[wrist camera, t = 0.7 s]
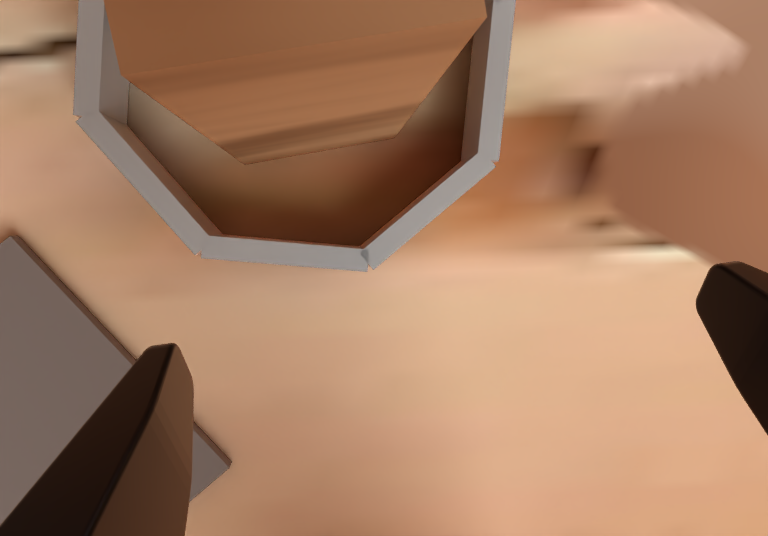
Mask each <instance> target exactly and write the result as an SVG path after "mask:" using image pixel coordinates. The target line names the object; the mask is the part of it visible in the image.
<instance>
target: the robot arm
mask: <svg viewBox="0 0 768 536" xmlns="http://www.w3.org/2000/svg"><path fill="white" fill-rule="evenodd" d="M696 309H697V312H698V314H699V316H700V318H701V320H702V322H703V324H704V326H705V328H706V330H707V332H708V334H709V336H710V337H711V339H712V341H713V343H714V345H715V347H716V349H717V351H718V353H719V355H720V357H721V359H722V361H723V363H724V365H725V366H726V368H727V370H728V372H729V374H730V376H731V378H732V380H733V381H734V383H735V385H736V387H737V389H738V390H739V392H740V393H741V395H742V397H743V398H744V400H745V401H746V403H747V404H748V406H749V408H750V409H751V411H752V412H753V414H754V415H755V417H756V418H757V420H758V421H759V423H760V424H761V426H762V427H763V429H764V430H765V432H766V433H767V435H768V273H766V272H764V271H761V270H759V269H757V268H754V267H752V266H750V265H747V264H745V263H742V262H738V261H737V262H736V261H734V262H727V263H720V264H716V265H714V266H712V267H711V268H710V270H709V271H708V274H707V276H706V278H705V280H704V283H703V285H702V287H701V289H700V291H699V294H698V296H697V298H696ZM193 398H194V388H193V380H192V376H191V374H190V371H189V369H188V367H187V364H186V362H185V360H184V357H183V355H182V353H181V350H180V348H179V347H178V346H177V345H176V344H175V343H168V344H161V345H154V346H150V347H149V348H147V349H146V350H145V351H144V352H143V353H142V355H141V356H140V357H139V358H138V359H137V361H136V362H135V363H134V364H133V365H132V367H131V368H130V369H129V370H128V371H127V373H126V374H125V375H124V376H123V377H122V379H121V380H120V381H119V382H118V383H117V385H116V386H115V387H114V388H113V389H112V391H111V392H110V393H109V394H108V396H107V397H106V398H105V399H104V400H103V402H102V403H101V404H100V405H99V406H98V408H97V409H96V410H95V411H94V412H93V414H92V415H91V416H90V417H89V418H88V420H87V421H86V422H85V423H84V424H83V426H82V427H81V428H80V429H79V430H78V432H77V433H76V434H75V435H74V436H73V438H72V439H71V440H70V441H69V443H68V444H67V445H66V446H65V447H64V449H63V450H62V451H61V452H60V453H59V455H58V456H57V457H56V458H55V459H54V461H53V462H52V463H51V464H50V465H49V467H48V468H47V469H46V470H45V471H44V473H43V474H42V475H41V476H40V477H39V479H38V480H37V481H36V482H35V483H34V485H33V486H32V487H31V488H30V490H29V491H28V492H27V493H26V494H25V496H24V497H23V498H22V499H21V500H20V502H19V503H18V504H17V505H16V506H15V508H14V509H13V510H12V511H11V512H10V514H9V515H8V516H7V517H6V518H5V520H4V521H3V522H2V523H1V524H0V536H185V528H186V521H187V514H188V507H189V499H190V491H191V482H192V456H193Z"/></svg>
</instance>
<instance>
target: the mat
mask: <svg viewBox="0 0 768 536" xmlns="http://www.w3.org/2000/svg"><path fill="white" fill-rule="evenodd" d="M135 362H136V360H135V359H134V358H133V357H132V356H131V355H130V354H129V353H128V352H127V351H126V350H125V349H124V348H123V347H122V345H121V344H120V343H119V342H118V341H117V340H116V339H115V338H114V337H113V336H112V335H111V334H110V333H109V332H108V331H107V330H106V329H105V327H104V326H103V325H102V324H101V323H100V322H99V321H98V320H97V319H96V318H95V317H94V316H93V315H92V314H91V313H90V312H89V311H88V309H87V308H86V307H85V306H84V305H83V304H82V303H81V302H80V301H79V300H78V299H77V298H76V297H75V296H74V295H73V294H72V293H71V291H70V290H69V289H68V288H67V287H66V286H65V285H64V284H63V283H62V282H61V281H60V280H59V279H58V278H57V277H56V276H55V275H54V273H53V272H52V271H51V270H50V269H49V268H48V267H47V266H46V265H45V264H44V263H43V262H42V261H41V260H40V259H39V258H38V257H37V255H36V254H35V253H34V252H33V251H32V250H31V249H30V248H29V247H28V246H27V245H26V244H25V243H24V242H23V241H22V240H21V239H20V237H19V236H9V237H8V238H7V239H6V240H4V241H3V242H2V243H1V244H0V524H1V523H2V522H3V521H4V520H5V518H6V517H7V516H8V515H9V514H10V512H11V511H12V510H13V509H14V508H15V506H16V505H17V504H18V503H19V502H20V500H21V499H22V498H23V497H24V496H25V494H26V493H27V492H28V491H29V490H30V488H31V487H32V486H33V485H34V483H35V482H36V481H37V480H38V479H39V477H40V476H41V475H42V474H43V473H44V471H45V470H46V469H47V468H48V467H49V465H50V464H51V463H52V462H53V461H54V459H55V458H56V457H57V456H58V455H59V453H60V452H61V451H62V450H63V449H64V447H65V446H66V445H67V444H68V443H69V441H70V440H71V439H72V438H73V436H74V435H75V434H76V433H77V432H78V430H79V429H80V428H81V427H82V426H83V424H84V423H85V422H86V421H87V420H88V418H89V417H90V416H91V415H92V414H93V412H94V411H95V410H96V409H97V408H98V406H99V405H100V404H101V403H102V402H103V400H104V399H105V398H106V397H107V396H108V394H109V393H110V392H111V391H112V389H113V388H114V387H115V386H116V385H117V383H118V382H119V381H120V380H121V379H122V377H123V376H124V375H125V374H126V373H127V371H128V370H129V369H130V368H131V367H132V365H133V364H134V363H135ZM231 463H232V462H231V461H230V460H229V459H228V458H227V457H226V456H225V455H224V453H223V452H222V451H221V450H220V449H219V448H218V447H217V446H216V445H215V444H214V443H213V442H212V441H211V440H210V439H209V438H208V437H207V435H206V434H205V433H204V432H203V431H202V430H201V429H200V428H199V427H198V426H197V425H196V424H195V423H194V422H193V456H192V482H191V491H190V499H189V502H190V501H191V500H192V499H193V498H194V497H196V496H197V495H198V494H199V493H200V492H202V491H203V490H204V489H205V488H206V487H207V486H209V485H210V484H211V483H212V482H213V481H214V480H216V479H217V478H218V477H219V476H220V475H222V474H223V473H224V472H225V471H226V470H227V469H229V468H230V465H231Z"/></svg>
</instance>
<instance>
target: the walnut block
mask: <svg viewBox="0 0 768 536" xmlns="http://www.w3.org/2000/svg"><path fill="white" fill-rule="evenodd" d="M104 5H105V9H106V13H107V17H108V22H109V26H110V30H111V35H112V39H113V43H114V48H115V52H116V56H117V61H118V65H119V69H120V73H121V76H123V77H124V78H125V79H127V80H128V81H130V82H131V83H132V84H134V85H135V86H136V87H138V88H139V89H141V90H142V91H143V92H145V93H146V94H148V95H149V96H150V97H152V98H153V99H154V100H156V101H157V102H159V103H160V104H161V105H163V106H164V107H166V108H167V109H168V110H170V111H171V112H172V113H174V114H175V115H177V116H178V117H179V118H181V119H182V120H184V121H185V122H186V123H188V124H189V125H190V126H192V127H193V128H195V129H196V130H197V131H199V132H200V133H202V134H203V135H204V136H206V137H207V138H208V139H210V140H211V141H213V142H214V143H215V144H217V145H218V146H220V147H221V148H222V149H224V150H225V151H226V152H228V153H229V154H231V155H232V156H233V157H235V158H236V159H238V160H239V161H240V162H242V163H243V164H244V165H246V164H251V163H257V162H262V161H268V160H274V159H279V158H285V157H291V156H296V155H302V154H307V153H313V152H319V151H324V150H330V149H336V148H341V147H347V146H352V145H358V144H364V143H369V142H375V141H381V140H386V139H392V138H395V136H396V135H397V134H398V133H399V131H400V130H401V129H402V127H403V126H404V125H405V123H406V122H407V121H408V120H409V118H410V117H411V116H412V114H413V113H414V112H415V110H416V109H417V108H418V106H419V105H420V104H421V103H422V101H423V100H424V99H425V97H426V96H427V95H428V93H429V92H430V91H431V90H432V88H433V87H434V86H435V84H436V83H437V82H438V80H439V79H440V78H441V76H442V75H443V74H444V73H445V71H446V70H447V69H448V67H449V66H450V65H451V63H452V62H453V61H454V60H455V58H456V57H457V56H458V54H459V53H460V52H461V50H462V49H463V48H464V46H465V45H466V44H467V43H468V41H469V40H470V39H471V37H472V36H473V35H474V33H475V32H476V31H477V30H478V28H479V27H480V26H481V24H482V23H483V22H484V20H485V19H486V18H487V12H486V6H485V0H104Z"/></svg>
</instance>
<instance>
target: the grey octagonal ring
mask: <svg viewBox="0 0 768 536" xmlns="http://www.w3.org/2000/svg"><path fill="white" fill-rule="evenodd" d="M515 3H516V0H485V6H486V12H487V18H486V19H485V20H484V22H483V23H482V24H481V26H480V27H479V28H478V30H477V31H476V32H475V33H474V35H473V44H472V54H471V64H470V74H469V84H468V94H467V104H466V114H465V124H464V134H463V144H462V153H461V161H460V162H459V163H458V164H457V165H456V166H454V167H453V168H452V169H451V170H450V171H448V172H447V173H446V174H445V175H444V176H443V177H441V178H440V179H439V180H438V181H437V182H435V183H434V184H433V185H432V186H431V187H429V188H428V189H427V190H426V191H425V192H423V193H422V194H421V195H420V196H419V197H418V198H416V199H415V200H414V201H413V202H412V203H410V204H409V205H408V206H407V207H406V208H404V209H403V210H402V211H401V212H400V213H398V214H397V215H396V216H395V217H394V218H393V219H391V220H390V221H389V222H388V223H387V224H385V225H384V226H383V227H382V228H381V229H379V230H378V231H377V232H376V233H375V234H373V235H372V236H371V237H370V238H369V239H368V240H366V241H365V242H364V243H363V244H362V245H360V246H350V245H339V244H327V243H316V242H304V241H293V240H281V239H270V238H258V237H247V236H235V235H224V234H222V233H221V232H220V231H219V229H218V228H217V227H216V226H215V225H214V224H213V223H212V221H211V220H210V219H209V218H208V217H207V216H206V215H205V213H204V212H203V211H202V210H201V209H200V208H199V207H198V206H197V204H196V203H195V202H194V201H193V200H192V199H191V198H190V196H189V195H188V194H187V193H186V192H185V191H184V190H183V188H182V187H181V186H180V185H179V184H178V183H177V182H176V180H175V179H174V178H173V177H172V176H171V175H170V174H169V173H168V171H167V170H166V169H165V168H164V167H163V166H162V165H161V163H160V162H159V161H158V160H157V159H156V158H155V157H154V155H153V154H152V153H151V152H150V151H149V150H148V149H147V147H146V146H145V145H144V144H143V143H142V142H141V141H140V140H139V138H138V137H137V136H136V135H135V134H134V133H133V132H132V130H131V129H130V128H129V127H128V126H127V116H128V98H129V81H128V80H127V79H125V78H124V77H123V76H121V73H120V69H119V65H118V61H117V56H116V52H115V48H114V43H113V39H112V35H111V30H110V26H109V22H108V17H107V13H106V9H105V5H104V0H79V2H78V23H77V44H76V65H75V86H74V107H73V115H74V116H77V117H79V119H78V120H77V121H76V123H77V124H78V125H79V126H80V127H81V128H82V129H83V131H84V132H85V133H86V134H87V135H88V136H89V137H90V138H91V140H92V141H93V142H94V143H95V144H96V145H97V146H98V147H99V148H100V150H101V151H102V152H103V153H104V154H105V155H106V156H107V157H108V159H109V160H110V161H111V162H112V163H113V164H114V165H115V166H116V167H117V169H118V170H119V171H120V172H121V173H122V174H123V175H124V176H125V178H126V179H127V180H128V181H129V182H130V183H131V184H132V185H133V187H134V188H135V189H136V190H137V191H138V192H139V193H140V194H141V195H142V197H143V198H144V199H145V200H146V201H147V202H148V203H149V204H150V206H151V207H152V208H153V209H154V210H155V211H156V212H157V213H158V214H159V216H160V217H161V218H162V219H163V220H164V221H165V222H166V223H167V225H168V226H169V227H170V228H171V229H172V230H173V231H174V232H175V234H176V235H177V236H178V237H179V238H180V239H181V240H182V241H183V242H184V244H185V245H186V246H187V247H188V248H189V249H190V250H191V251H192V253H193V254H194V255H198V254H201V258H204V259H217V260H229V261H241V262H253V263H266V264H278V265H290V266H302V267H314V268H327V269H339V270H351V271H363V272H367V270H368V265H369V266H370V267H371V268H372V269H373V270H374V269H375V268H376V267H377V266H379V265H380V264H381V263H382V262H383V261H385V260H386V259H387V258H388V257H389V256H390V255H392V254H393V253H394V252H395V251H396V250H398V249H399V248H400V247H401V246H402V245H404V244H405V243H406V242H407V241H408V240H409V239H411V238H412V237H413V236H414V235H415V234H417V233H418V232H419V231H420V230H421V229H423V228H424V227H425V226H426V225H427V224H428V223H430V222H431V221H432V220H433V219H434V218H436V217H437V216H438V215H439V214H440V213H442V212H443V211H444V210H445V209H446V208H447V207H449V206H450V205H451V204H452V203H453V202H455V201H456V200H457V199H458V198H459V197H461V196H462V195H463V194H464V193H465V192H466V191H468V190H469V189H470V188H471V187H472V186H474V185H475V184H476V183H477V182H478V181H480V180H481V179H482V178H483V177H484V176H485V175H487V174H488V173H489V172H490V171H491V170H493V169H494V168H495V167H496V166H495V165H494V164H493V163H495V162H498V161H499V155H500V145H501V136H502V126H503V117H504V107H505V98H506V88H507V79H508V69H509V60H510V50H511V41H512V31H513V22H514V12H515Z"/></svg>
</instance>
